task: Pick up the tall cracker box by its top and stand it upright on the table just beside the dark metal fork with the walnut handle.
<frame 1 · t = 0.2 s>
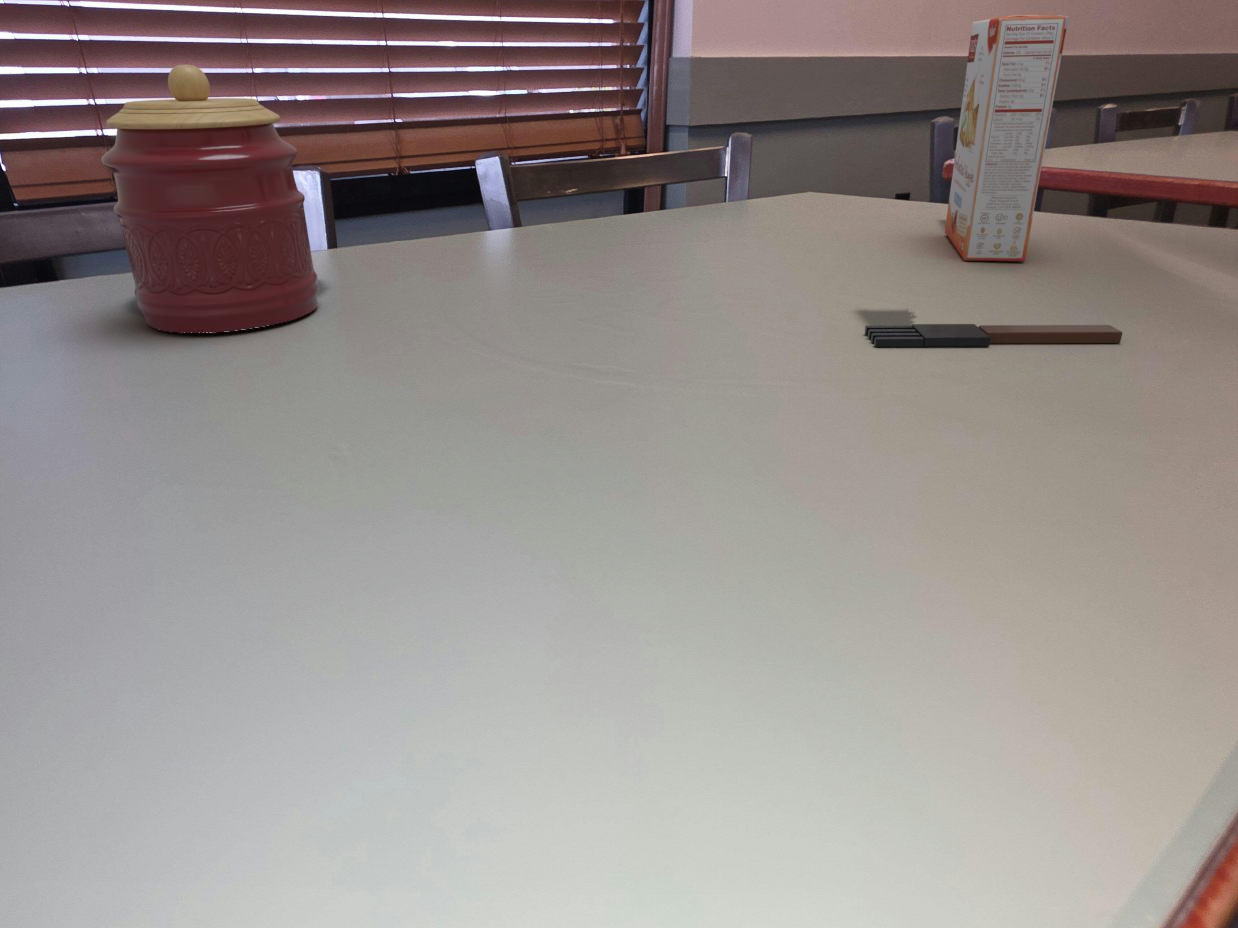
kitchen canister: (235, 316, 68), on the table
cracker box: (979, 250, 88), on the table
fork: (995, 340, 59), on the table
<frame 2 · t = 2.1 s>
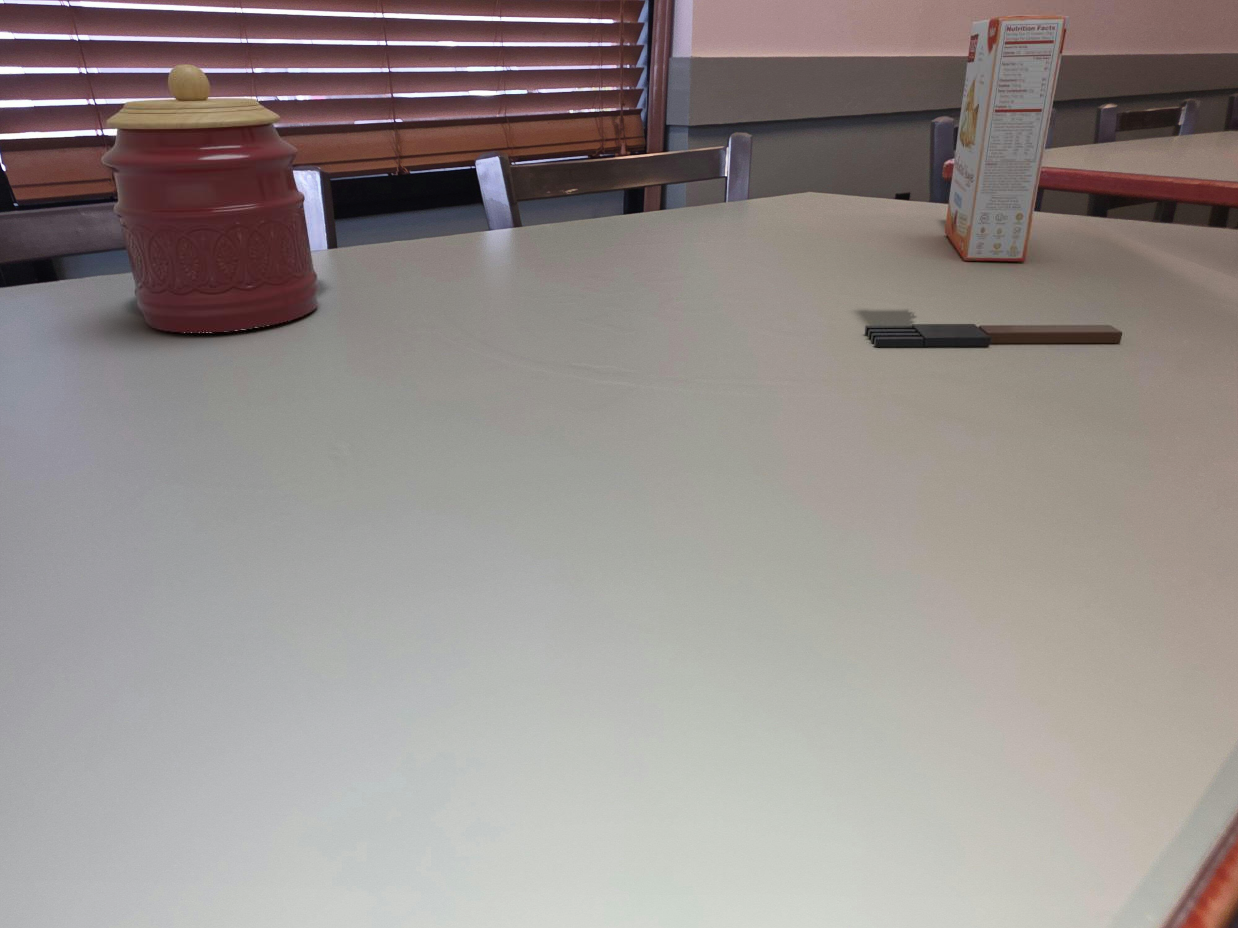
nothing on the table moved.
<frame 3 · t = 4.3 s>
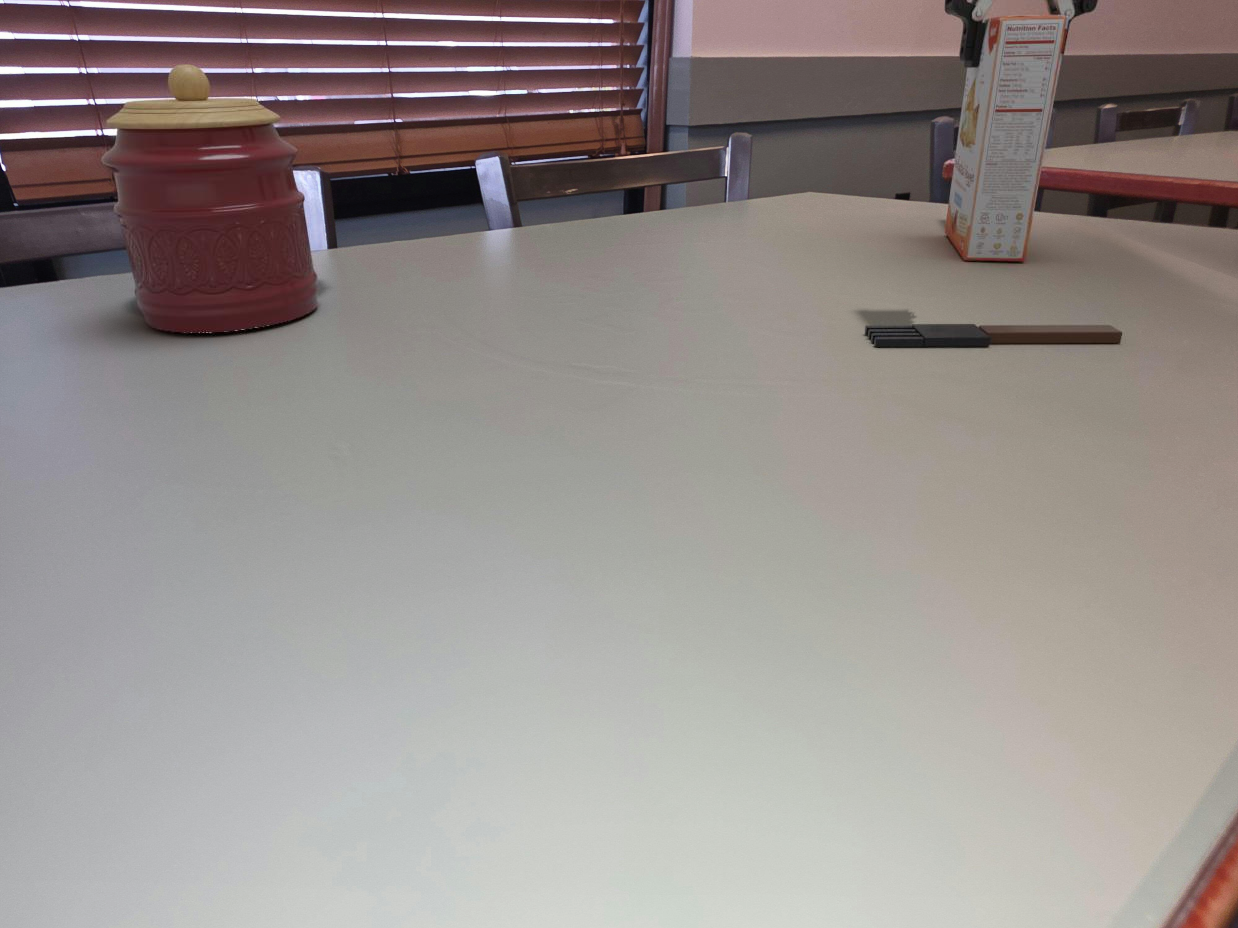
hand: (1009, 67, 81), 17 cm above the table, tool pointing down, fingers closed on cracker box, 6 cm apart
cracker box: (979, 250, 88), on the table, touching gripper
everything else where it was.
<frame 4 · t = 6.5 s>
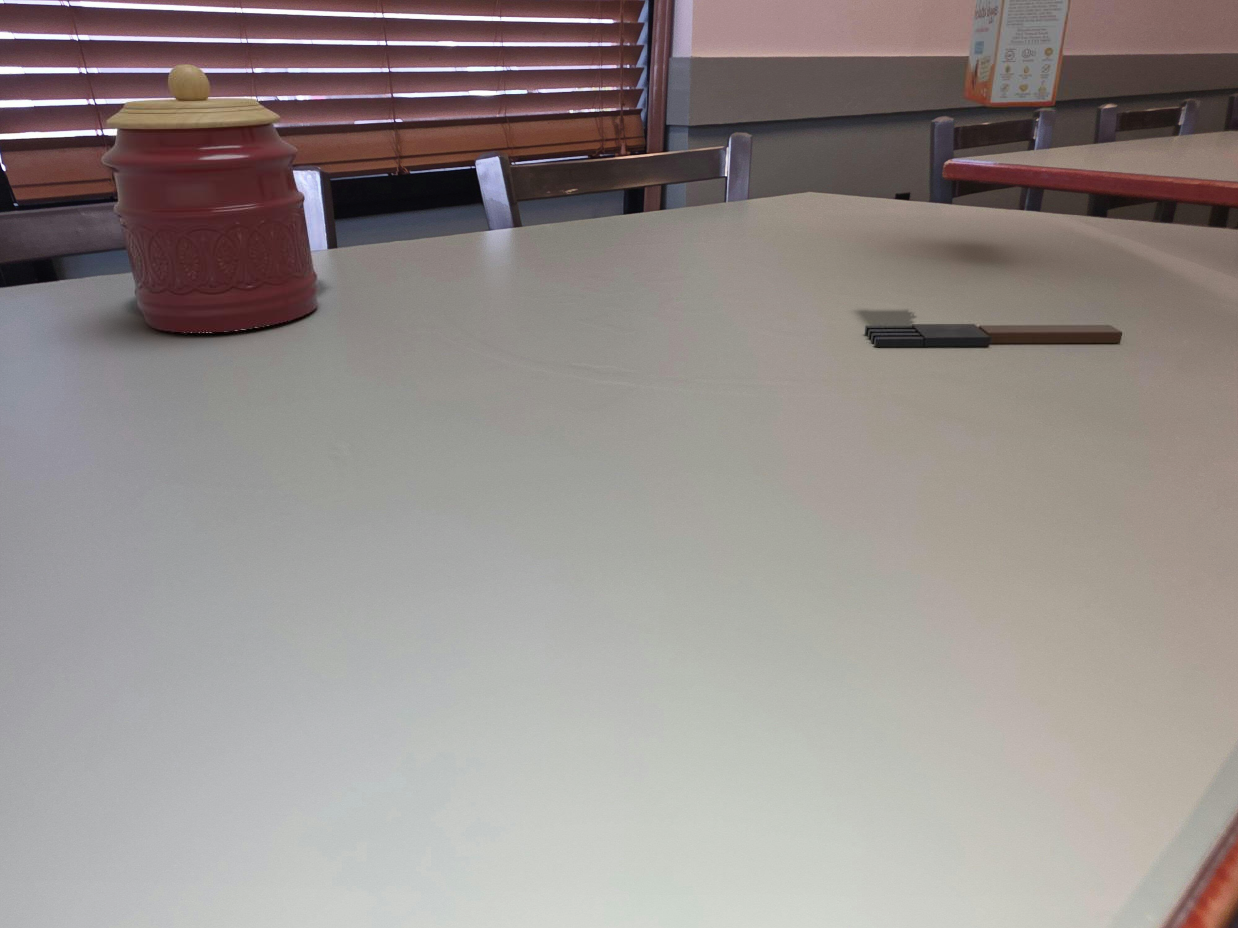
cracker box: (1002, 106, 80), point 13 cm above the table, touching gripper
everything else where it was.
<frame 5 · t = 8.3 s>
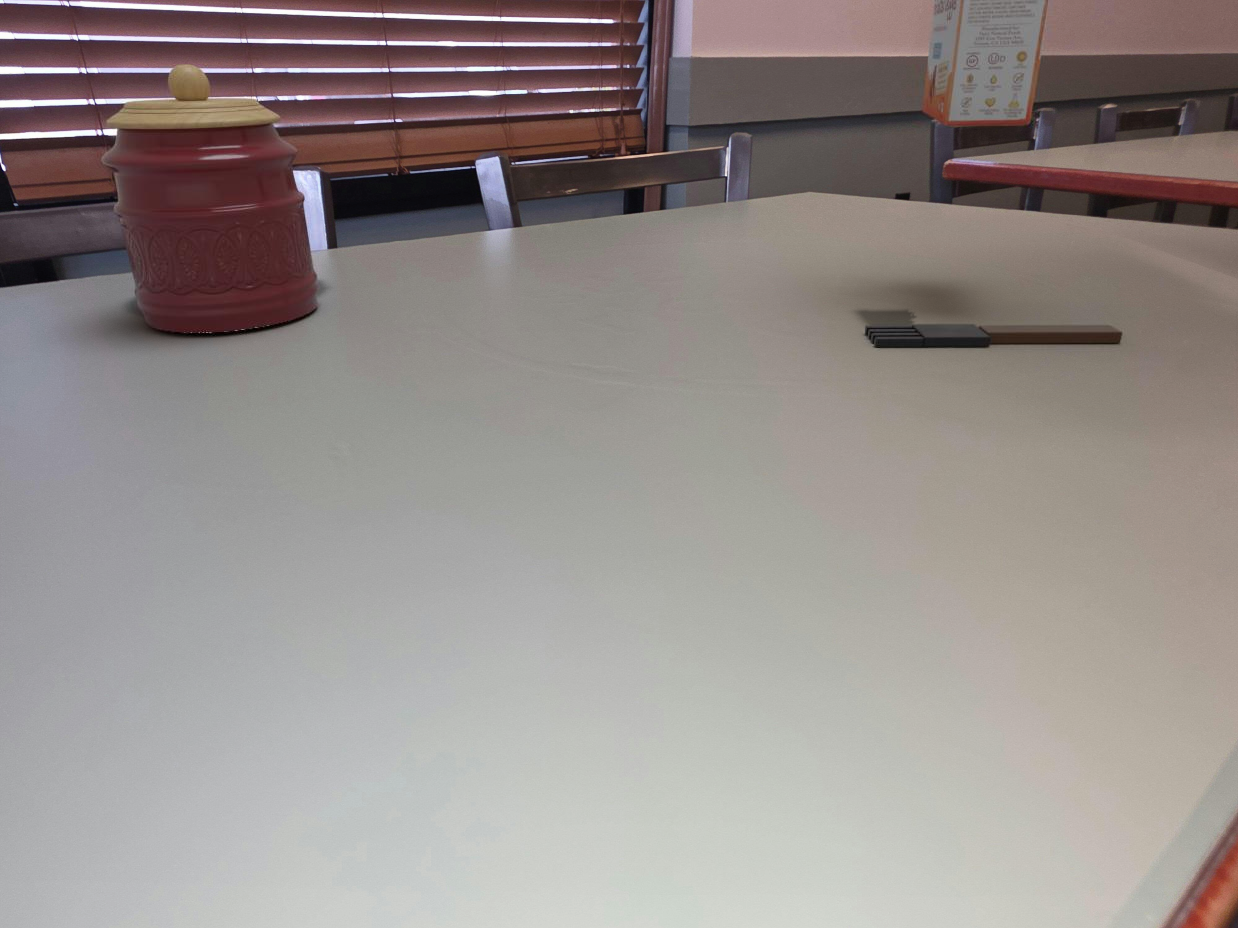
cracker box: (967, 123, 64), point 13 cm above the table, touching gripper
everything else where it was.
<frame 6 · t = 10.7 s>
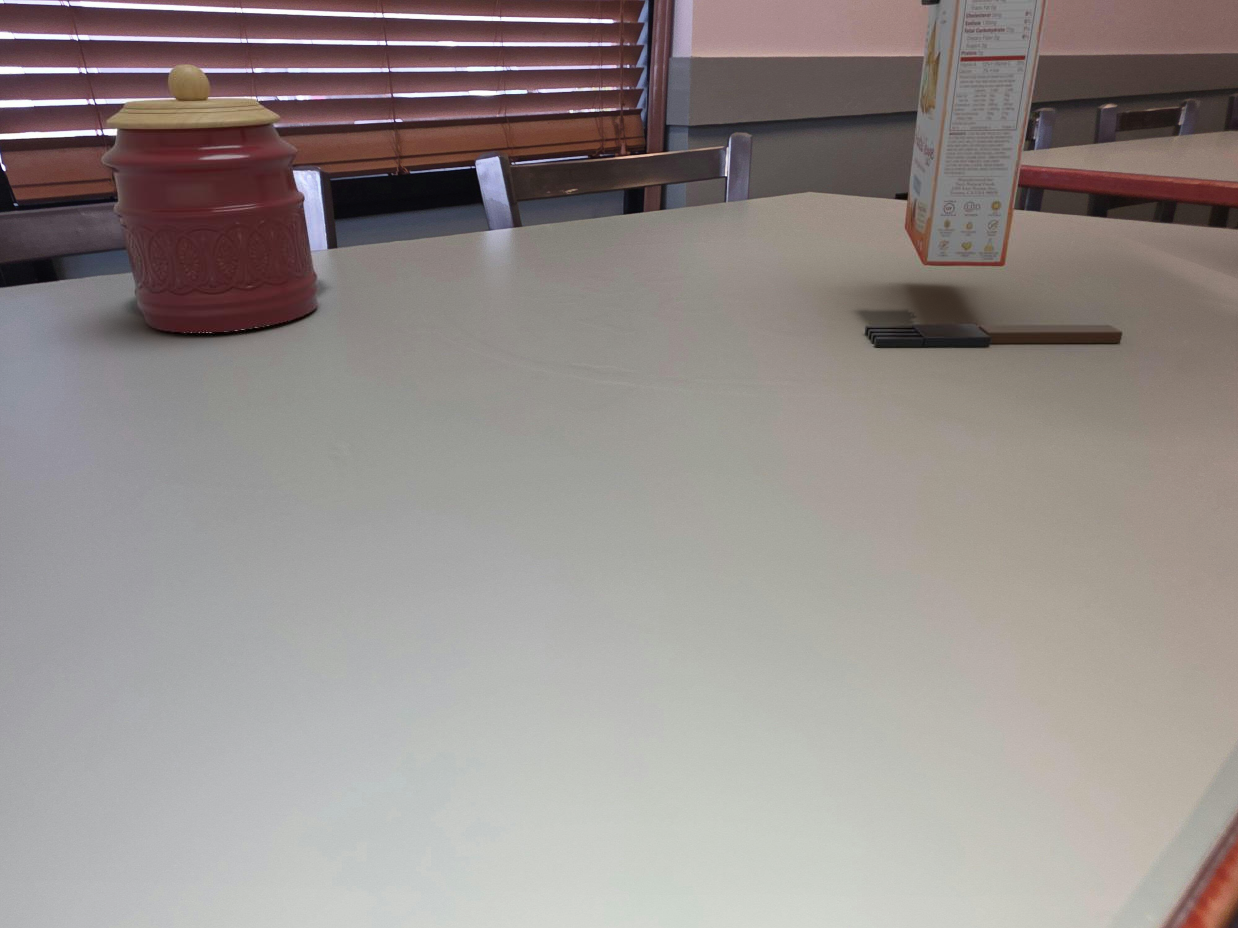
hand: (981, 3, 60), 21 cm above the table, tool pointing down, fingers closed on cracker box, 6 cm apart
cracker box: (946, 251, 67), point 4 cm above the table, touching gripper
everything else where it was.
when the fingers open (17 cm above the table, at t = 12.5 s): cracker box stays where it is, on the table.
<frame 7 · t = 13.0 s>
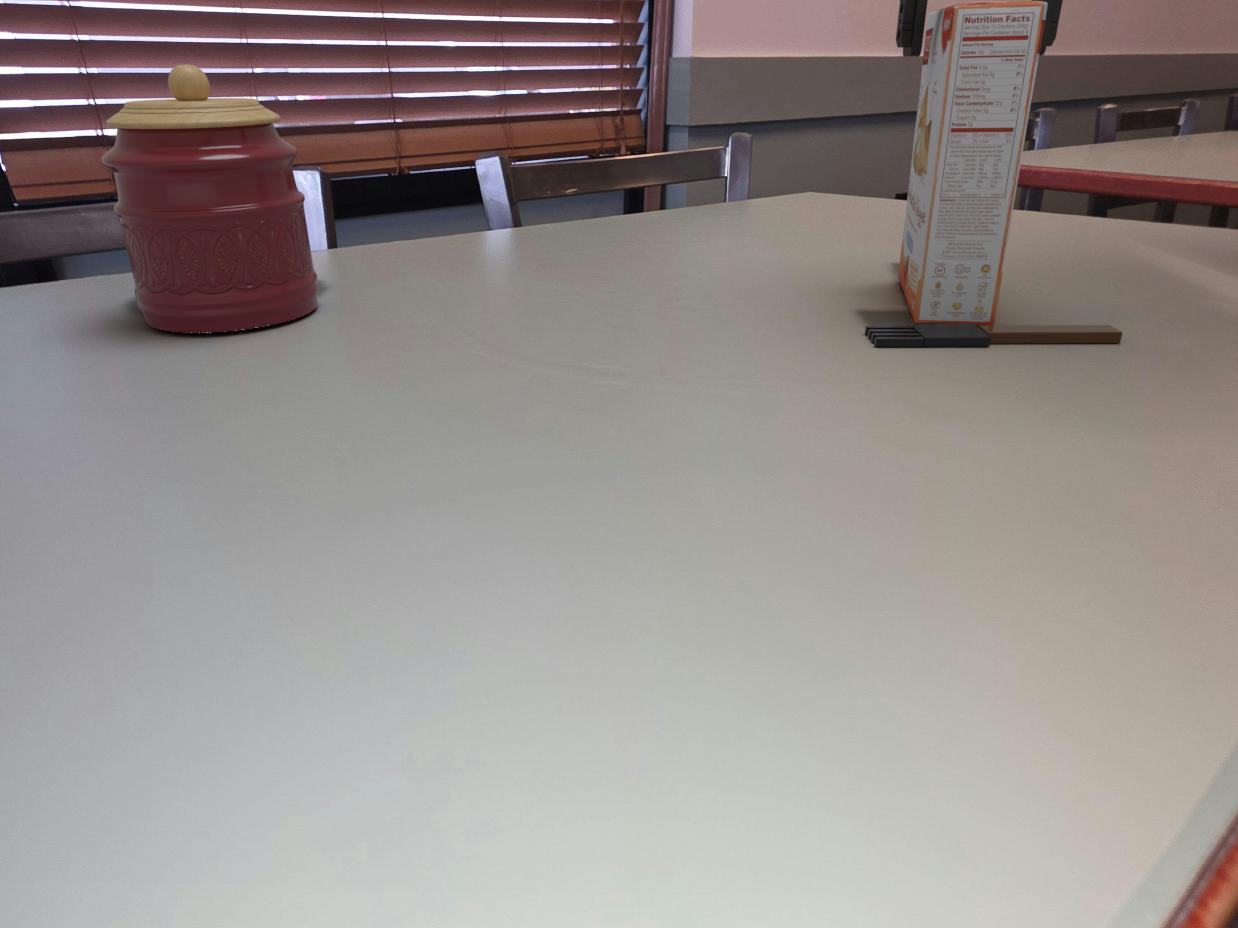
hand: (972, 56, 61), 18 cm above the table, tool pointing down, fingers open, 8 cm apart
cracker box: (938, 305, 69), on the table
everything else where it was.
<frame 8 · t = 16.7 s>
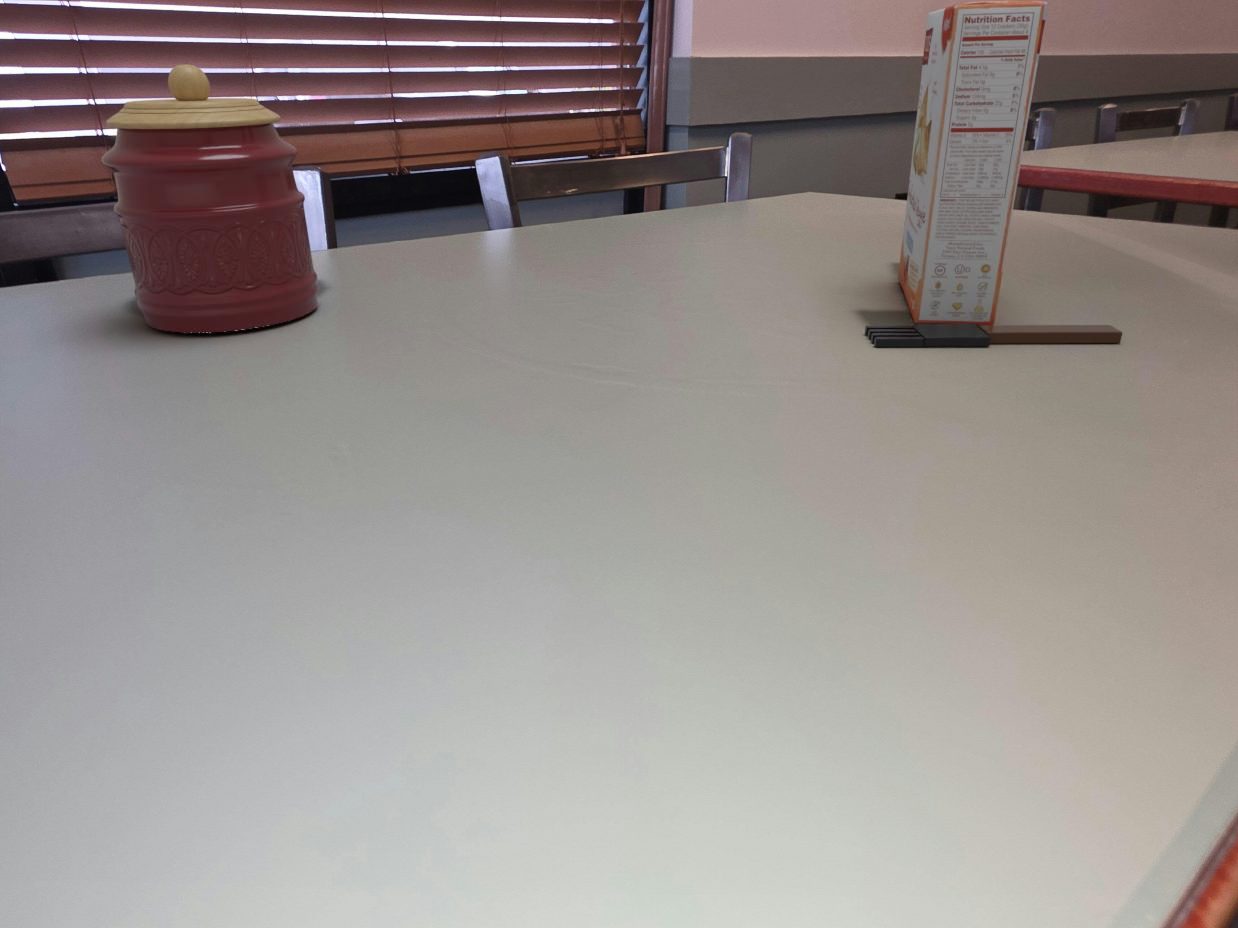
nothing on the table moved.
at the end: cracker box inside the target area on the table beside the fork (1.8 cm from its centre), on the table; cracker box tilted 0° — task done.
